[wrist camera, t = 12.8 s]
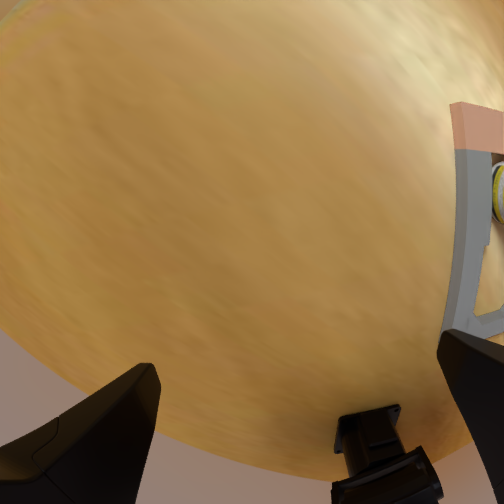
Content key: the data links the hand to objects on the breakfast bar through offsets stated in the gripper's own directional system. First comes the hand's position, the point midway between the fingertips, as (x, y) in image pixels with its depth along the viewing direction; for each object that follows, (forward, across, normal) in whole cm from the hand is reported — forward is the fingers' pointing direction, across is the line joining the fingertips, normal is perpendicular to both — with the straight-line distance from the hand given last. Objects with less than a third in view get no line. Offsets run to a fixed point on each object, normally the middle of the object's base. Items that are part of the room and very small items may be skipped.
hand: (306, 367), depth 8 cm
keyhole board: (+12, -20, 0) cm, 23 cm away
